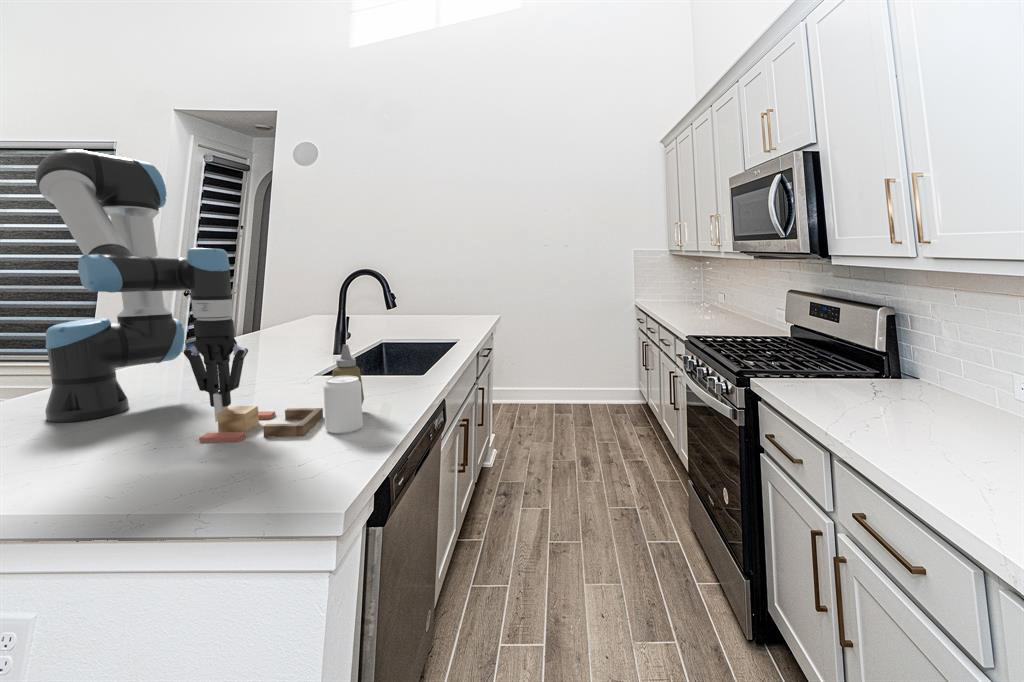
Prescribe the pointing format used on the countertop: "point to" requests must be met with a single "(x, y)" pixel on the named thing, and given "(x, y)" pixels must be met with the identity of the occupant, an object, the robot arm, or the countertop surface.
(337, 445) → the countertop surface
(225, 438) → the mats
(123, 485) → the countertop surface
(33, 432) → the countertop surface
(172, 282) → the robot arm
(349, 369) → the squeeze bottle
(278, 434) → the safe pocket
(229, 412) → the oak block
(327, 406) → the beverage can
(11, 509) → the countertop surface
